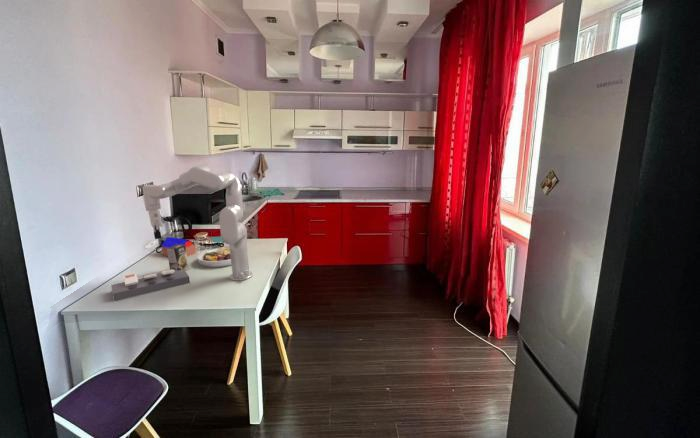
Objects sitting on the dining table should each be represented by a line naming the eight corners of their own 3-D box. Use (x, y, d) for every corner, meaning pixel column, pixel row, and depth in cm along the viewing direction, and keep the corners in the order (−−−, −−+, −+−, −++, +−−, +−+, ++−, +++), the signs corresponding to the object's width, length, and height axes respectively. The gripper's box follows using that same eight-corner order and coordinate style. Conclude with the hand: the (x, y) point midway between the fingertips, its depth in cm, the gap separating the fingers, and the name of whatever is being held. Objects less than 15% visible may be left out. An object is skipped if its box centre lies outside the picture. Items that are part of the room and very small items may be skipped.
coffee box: (179, 274, 219) (175, 248, 215) (170, 274, 220) (166, 248, 216) (189, 269, 227) (185, 244, 224) (179, 268, 229) (176, 243, 225)
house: (176, 250, 267) (174, 234, 264) (197, 253, 258) (195, 237, 256) (162, 255, 256) (159, 239, 254) (183, 258, 248) (180, 242, 245)
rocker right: (175, 273, 205) (174, 269, 205) (163, 276, 202) (162, 272, 202) (173, 272, 212) (172, 269, 212) (161, 275, 209) (160, 271, 209)
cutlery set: (229, 237, 296) (229, 234, 295) (221, 249, 267) (221, 246, 266) (203, 239, 293) (203, 236, 293) (192, 252, 265) (192, 248, 264)
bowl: (191, 261, 243) (189, 249, 241) (234, 250, 262) (233, 240, 261) (209, 272, 221) (207, 260, 219) (255, 260, 240) (253, 248, 239)
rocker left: (138, 284, 196) (138, 281, 195) (125, 287, 193) (125, 284, 192) (136, 276, 202) (136, 273, 201) (123, 279, 199) (123, 276, 198)
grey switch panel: (190, 283, 206) (189, 275, 205) (114, 301, 186) (112, 293, 185) (184, 275, 217) (183, 268, 216) (112, 291, 197) (111, 284, 196)
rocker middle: (157, 277, 200) (156, 273, 201) (144, 279, 197) (143, 275, 197) (155, 277, 207) (154, 273, 207) (143, 279, 204) (142, 275, 204)
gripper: (162, 208, 204) (167, 240, 208) (158, 204, 216) (163, 234, 220) (147, 209, 200) (152, 242, 204) (144, 206, 212) (149, 236, 216)
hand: (158, 238), depth 212 cm, fingers closed
